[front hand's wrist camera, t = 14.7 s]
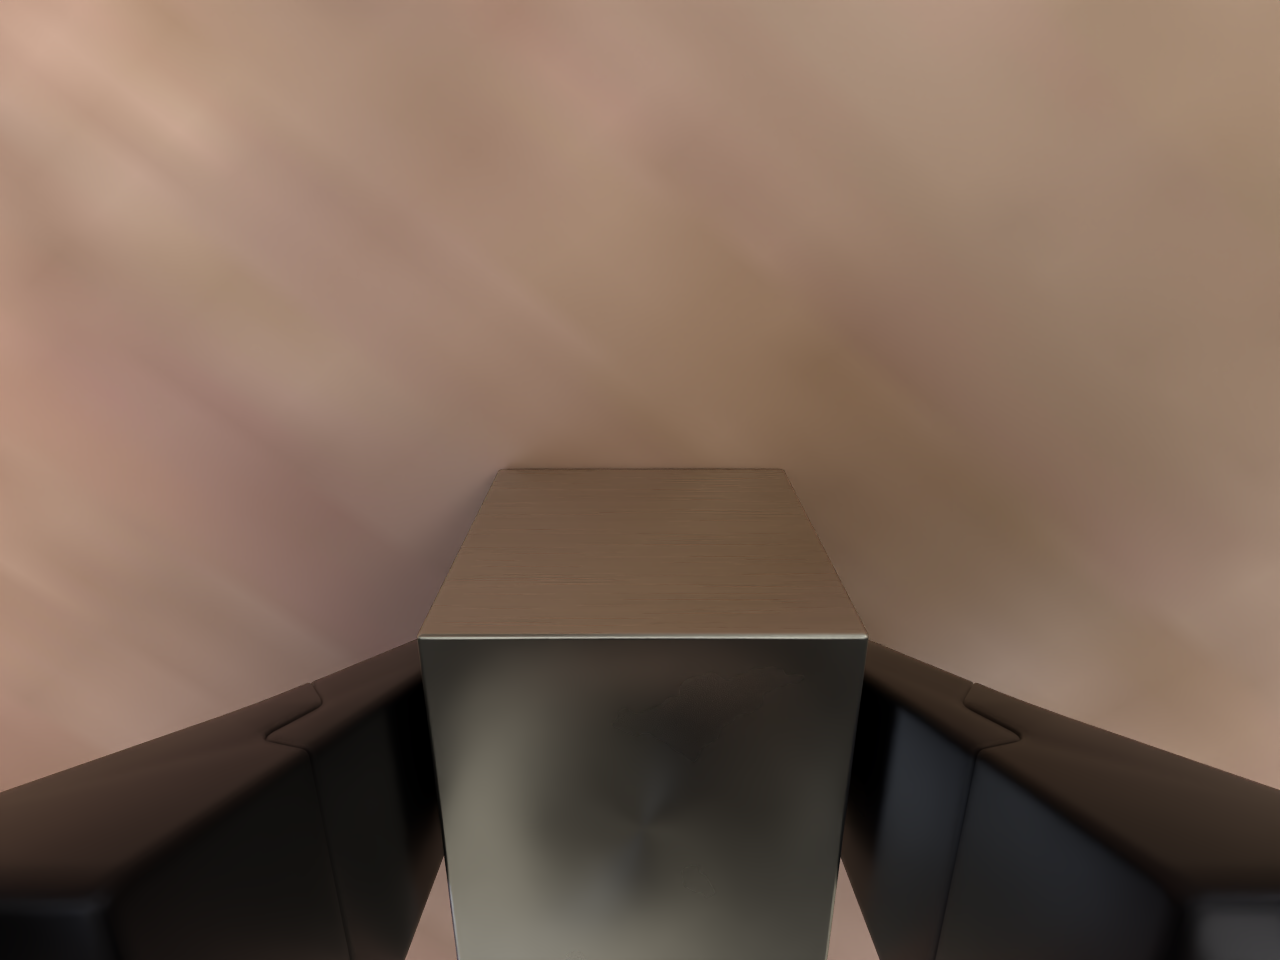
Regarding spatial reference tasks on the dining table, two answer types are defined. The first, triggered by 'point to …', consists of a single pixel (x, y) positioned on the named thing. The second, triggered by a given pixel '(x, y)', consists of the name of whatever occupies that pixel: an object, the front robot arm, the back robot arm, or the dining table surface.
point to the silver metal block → (642, 718)
